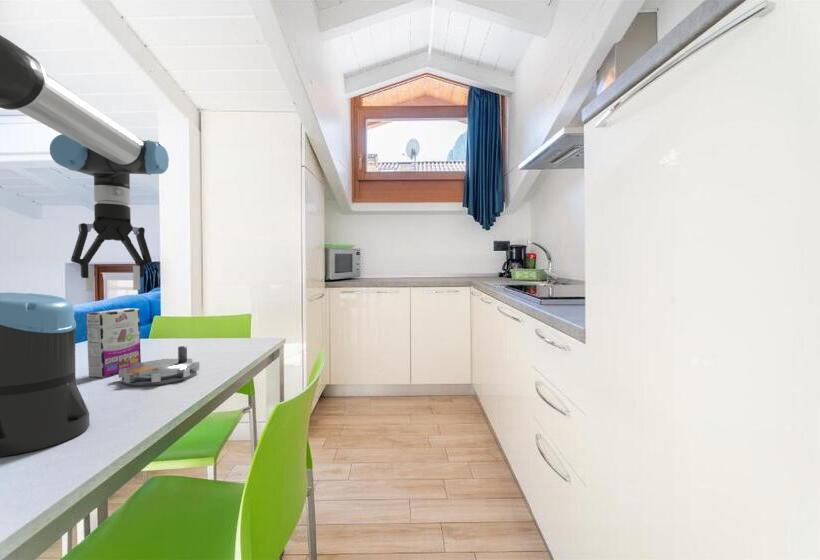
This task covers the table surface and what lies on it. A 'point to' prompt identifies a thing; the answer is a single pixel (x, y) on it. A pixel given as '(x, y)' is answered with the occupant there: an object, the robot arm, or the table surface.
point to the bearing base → (163, 382)
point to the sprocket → (160, 368)
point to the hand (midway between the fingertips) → (114, 290)
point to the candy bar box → (112, 341)
